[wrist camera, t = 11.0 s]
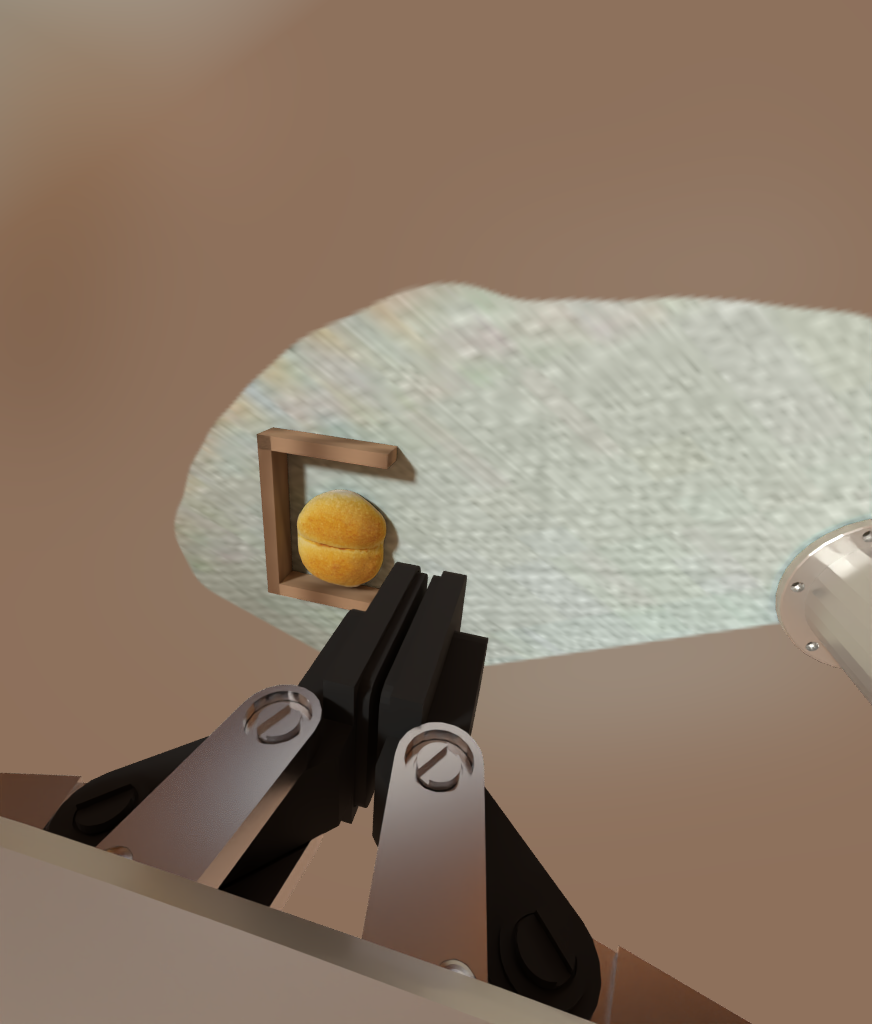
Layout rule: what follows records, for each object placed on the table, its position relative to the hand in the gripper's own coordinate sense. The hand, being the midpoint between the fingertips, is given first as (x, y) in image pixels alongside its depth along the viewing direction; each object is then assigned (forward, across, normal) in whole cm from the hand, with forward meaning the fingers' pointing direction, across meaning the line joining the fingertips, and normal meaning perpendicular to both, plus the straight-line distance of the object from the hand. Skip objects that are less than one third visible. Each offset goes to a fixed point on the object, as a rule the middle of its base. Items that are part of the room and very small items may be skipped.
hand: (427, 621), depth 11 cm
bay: (+27, +14, +12) cm, 33 cm away
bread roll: (+28, +13, +13) cm, 33 cm away
